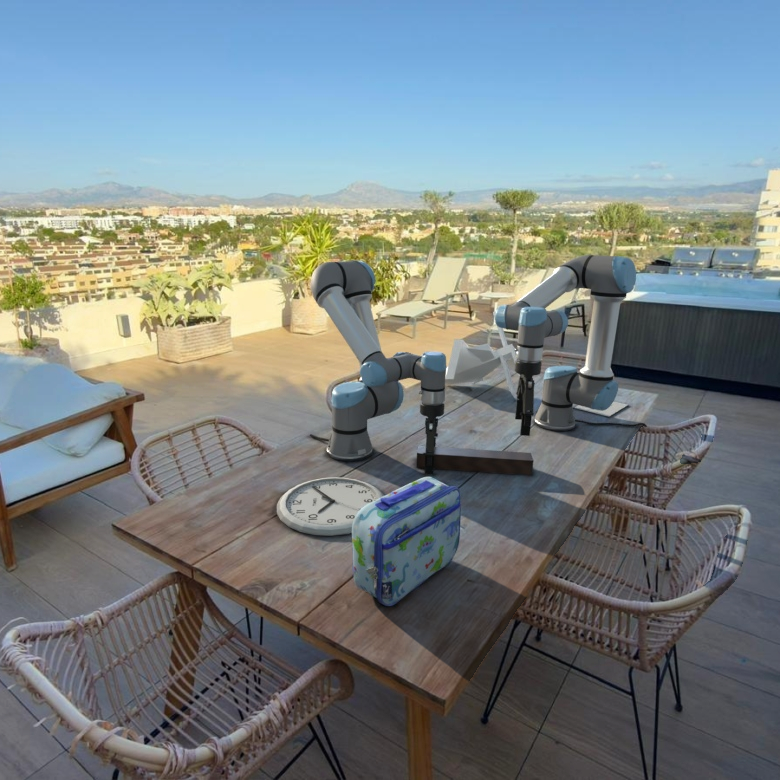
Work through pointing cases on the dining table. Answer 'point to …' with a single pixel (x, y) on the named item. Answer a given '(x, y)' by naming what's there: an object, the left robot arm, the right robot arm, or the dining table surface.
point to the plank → (478, 460)
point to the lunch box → (405, 538)
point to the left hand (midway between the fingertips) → (430, 464)
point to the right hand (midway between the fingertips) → (522, 427)
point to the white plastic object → (479, 362)
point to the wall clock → (325, 505)
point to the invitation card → (608, 412)
